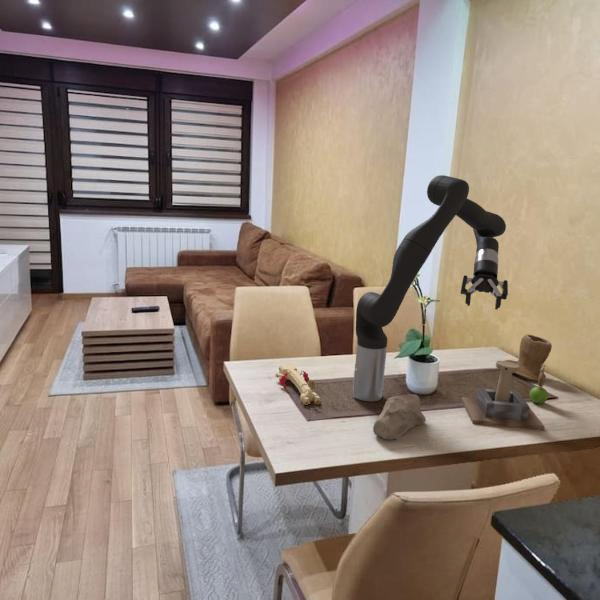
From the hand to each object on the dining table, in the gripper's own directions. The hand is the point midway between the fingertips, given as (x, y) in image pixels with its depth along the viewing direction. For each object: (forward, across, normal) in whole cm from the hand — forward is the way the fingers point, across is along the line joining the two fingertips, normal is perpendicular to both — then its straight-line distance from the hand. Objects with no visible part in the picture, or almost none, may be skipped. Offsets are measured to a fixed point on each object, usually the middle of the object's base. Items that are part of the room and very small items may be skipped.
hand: (482, 306), depth 165 cm
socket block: (+30, +9, +12) cm, 34 cm away
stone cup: (+2, +21, +40) cm, 45 cm away
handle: (+29, +9, +12) cm, 33 cm away
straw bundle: (+36, -54, +9) cm, 65 cm away
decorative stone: (+46, -19, -2) cm, 50 cm away
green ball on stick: (+20, +21, +22) cm, 37 cm away
